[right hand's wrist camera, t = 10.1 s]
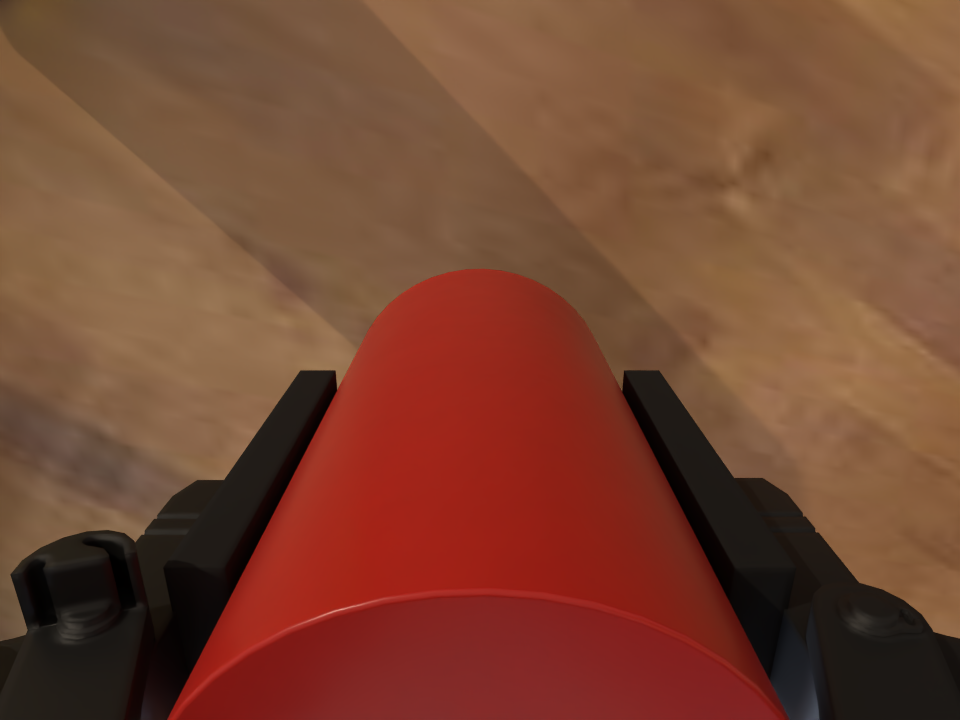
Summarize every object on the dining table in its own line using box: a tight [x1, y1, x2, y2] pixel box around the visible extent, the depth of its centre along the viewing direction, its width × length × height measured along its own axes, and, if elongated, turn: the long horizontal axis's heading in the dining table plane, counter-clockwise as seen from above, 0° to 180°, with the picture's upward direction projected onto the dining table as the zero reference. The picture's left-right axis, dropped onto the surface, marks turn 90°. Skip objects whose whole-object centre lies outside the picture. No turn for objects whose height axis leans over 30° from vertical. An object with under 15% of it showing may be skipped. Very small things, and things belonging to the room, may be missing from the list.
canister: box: [167, 269, 790, 720], centre depth 11 cm, size 6×6×11 cm
